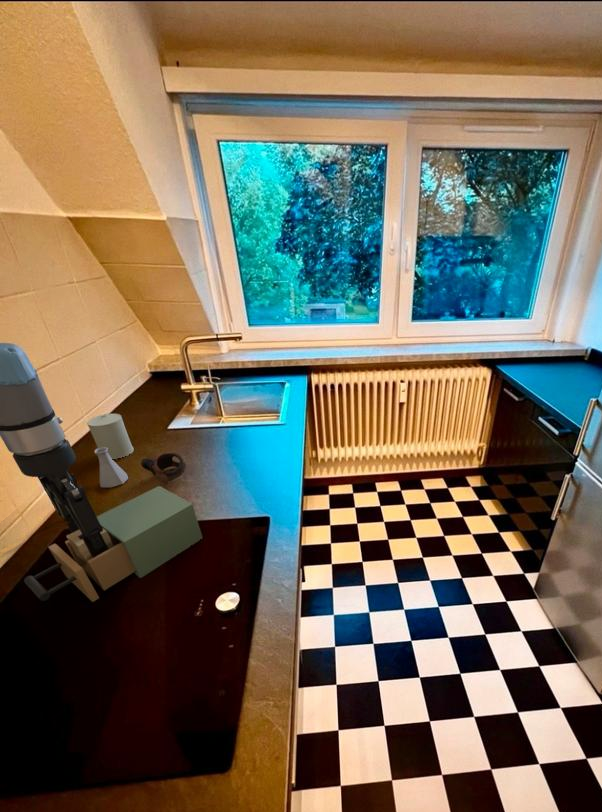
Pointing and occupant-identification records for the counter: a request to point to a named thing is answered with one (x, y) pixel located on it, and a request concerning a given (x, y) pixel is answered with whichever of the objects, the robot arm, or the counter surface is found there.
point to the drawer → (86, 570)
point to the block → (81, 547)
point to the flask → (109, 469)
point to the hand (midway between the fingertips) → (95, 552)
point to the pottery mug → (165, 466)
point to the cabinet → (153, 528)
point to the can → (111, 434)
